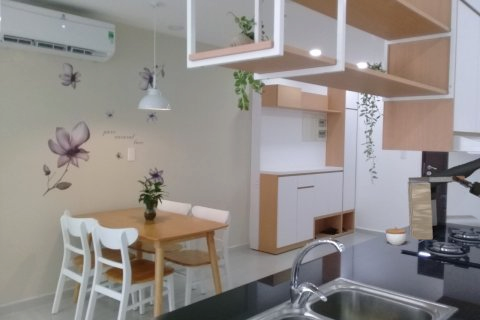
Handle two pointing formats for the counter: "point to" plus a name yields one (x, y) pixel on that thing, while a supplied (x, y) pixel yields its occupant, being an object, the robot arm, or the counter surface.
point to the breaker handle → (444, 179)
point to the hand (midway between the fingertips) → (452, 176)
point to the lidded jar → (396, 236)
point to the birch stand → (420, 208)
